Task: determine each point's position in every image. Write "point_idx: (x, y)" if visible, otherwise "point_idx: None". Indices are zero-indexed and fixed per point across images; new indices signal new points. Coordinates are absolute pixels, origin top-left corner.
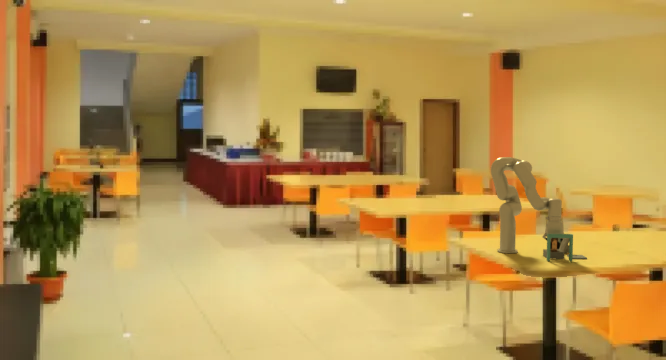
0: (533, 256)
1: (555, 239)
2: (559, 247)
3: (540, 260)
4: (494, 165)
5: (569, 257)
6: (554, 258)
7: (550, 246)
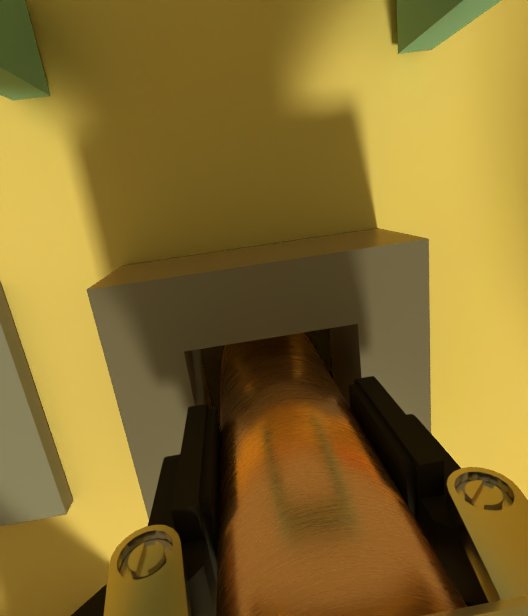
0: (522, 372)
1: (318, 581)
2: (171, 456)
3: (518, 51)
4: None
5: (8, 29)
6: (274, 244)
7: (390, 401)
